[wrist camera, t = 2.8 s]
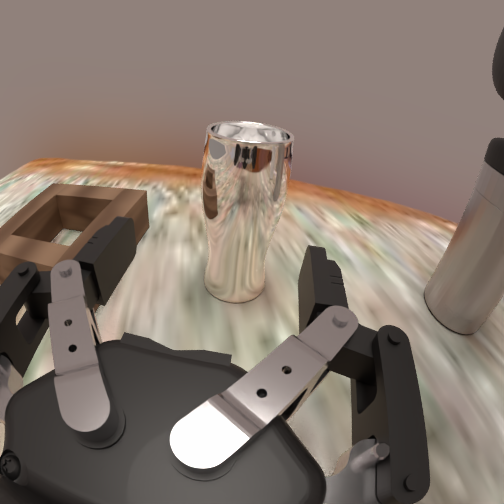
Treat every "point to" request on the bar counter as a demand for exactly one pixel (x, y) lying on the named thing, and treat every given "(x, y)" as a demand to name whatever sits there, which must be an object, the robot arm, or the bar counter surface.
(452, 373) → the bar counter surface
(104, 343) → the robot arm
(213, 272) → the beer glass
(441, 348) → the bar counter surface
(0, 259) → the walnut well block
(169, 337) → the bar counter surface
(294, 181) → the bar counter surface
